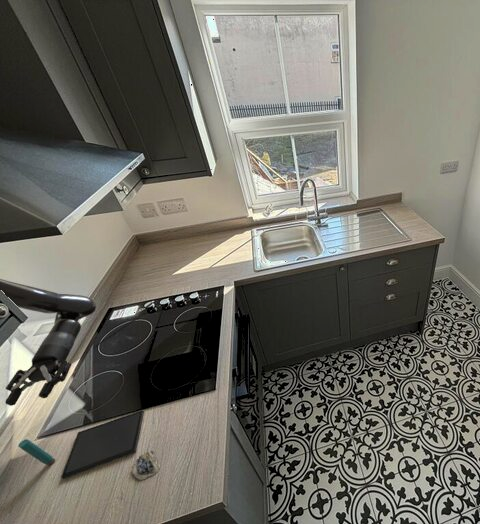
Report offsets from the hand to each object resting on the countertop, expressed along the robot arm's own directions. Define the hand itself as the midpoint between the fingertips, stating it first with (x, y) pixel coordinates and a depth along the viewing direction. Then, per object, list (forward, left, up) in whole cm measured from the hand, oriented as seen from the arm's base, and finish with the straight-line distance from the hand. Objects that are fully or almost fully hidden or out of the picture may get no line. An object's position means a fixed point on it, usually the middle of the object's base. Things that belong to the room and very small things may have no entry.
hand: (26, 400), depth 82 cm
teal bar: (0, -9, -18) cm, 20 cm away
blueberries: (+27, -21, -18) cm, 39 cm away
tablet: (+14, -9, -18) cm, 24 cm away
